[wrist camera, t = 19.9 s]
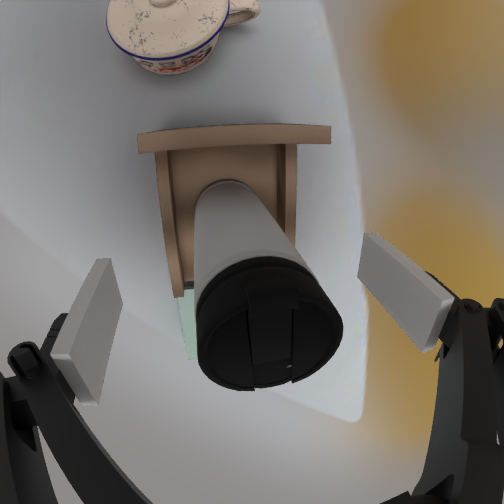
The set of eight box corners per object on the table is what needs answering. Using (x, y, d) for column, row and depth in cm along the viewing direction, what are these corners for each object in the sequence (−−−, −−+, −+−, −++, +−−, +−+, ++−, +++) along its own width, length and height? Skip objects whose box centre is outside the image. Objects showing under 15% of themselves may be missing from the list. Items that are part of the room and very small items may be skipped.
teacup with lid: (134, 87, 24) (98, 67, 14) (125, 11, 20) (93, -38, 10) (255, 65, 25) (290, 35, 15) (242, -9, 21) (268, -65, 11)
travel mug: (256, 171, 28) (360, 274, 10) (260, 234, 31) (341, 390, 13) (190, 179, 27) (177, 304, 9) (199, 243, 30) (211, 417, 12)
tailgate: (176, 290, 31) (188, 359, 33) (286, 278, 33) (286, 347, 35) (177, 283, 33) (188, 349, 36) (281, 272, 35) (282, 338, 37)
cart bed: (160, 130, 26) (137, 134, 16) (281, 123, 28) (331, 126, 18) (176, 273, 33) (171, 345, 22) (280, 263, 35) (317, 326, 24)
